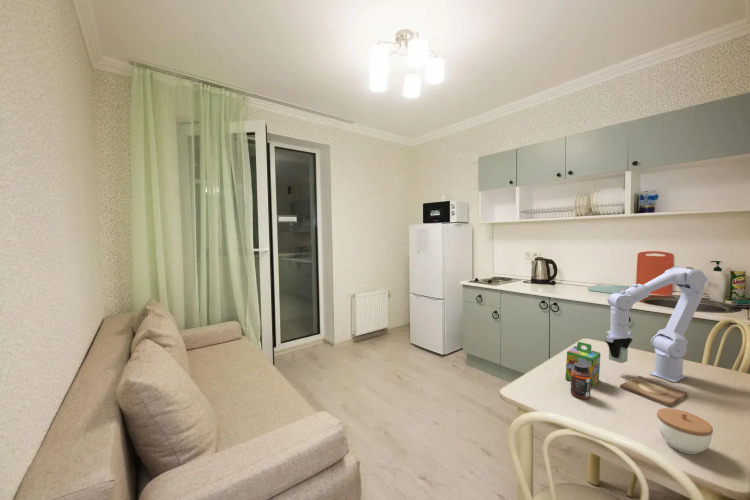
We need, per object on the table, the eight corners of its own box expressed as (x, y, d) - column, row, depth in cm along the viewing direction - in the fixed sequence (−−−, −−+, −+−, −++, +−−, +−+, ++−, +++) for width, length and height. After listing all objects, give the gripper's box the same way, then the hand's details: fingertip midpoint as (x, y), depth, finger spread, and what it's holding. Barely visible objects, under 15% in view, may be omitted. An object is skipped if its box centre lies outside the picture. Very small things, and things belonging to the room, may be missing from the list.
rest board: (639, 379, 121) (639, 375, 120) (687, 396, 108) (687, 392, 108) (620, 387, 114) (620, 384, 114) (668, 407, 102) (669, 403, 102)
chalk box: (565, 379, 121) (565, 343, 120) (573, 372, 127) (574, 337, 126) (592, 388, 114) (593, 350, 113) (600, 380, 120) (601, 344, 119)
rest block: (614, 356, 127) (615, 345, 127) (627, 360, 123) (627, 348, 123) (608, 359, 125) (608, 347, 125) (621, 363, 121) (621, 351, 121)
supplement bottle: (593, 400, 106) (594, 369, 106) (574, 399, 108) (575, 368, 107) (585, 391, 112) (586, 361, 111) (567, 390, 113) (568, 360, 113)
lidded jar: (645, 434, 89) (646, 403, 88) (679, 431, 90) (680, 401, 89) (685, 462, 78) (687, 427, 78) (723, 459, 79) (725, 424, 79)
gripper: (617, 318, 130) (616, 349, 131) (598, 323, 123) (597, 356, 124) (637, 322, 124) (636, 355, 125) (618, 328, 117) (617, 362, 118)
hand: (618, 356), depth 124 cm, fingers closed on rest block, 4 cm apart
